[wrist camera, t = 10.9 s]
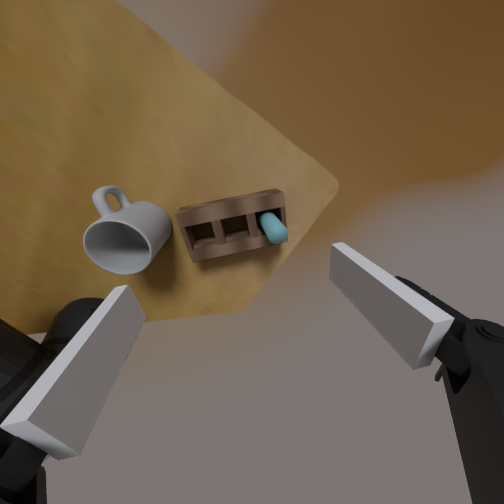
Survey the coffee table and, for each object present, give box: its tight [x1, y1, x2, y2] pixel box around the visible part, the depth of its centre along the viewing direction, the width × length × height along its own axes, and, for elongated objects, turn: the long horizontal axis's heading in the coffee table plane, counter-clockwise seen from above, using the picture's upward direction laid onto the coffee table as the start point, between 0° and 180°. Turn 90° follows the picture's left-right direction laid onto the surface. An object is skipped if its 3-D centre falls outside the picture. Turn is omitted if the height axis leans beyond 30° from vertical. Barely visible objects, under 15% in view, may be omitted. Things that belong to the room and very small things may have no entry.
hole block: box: [175, 188, 288, 262], centre depth 34 cm, size 18×9×5 cm, turn 100°
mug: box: [83, 186, 172, 275], centre depth 29 cm, size 12×8×11 cm
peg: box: [256, 209, 288, 244], centre depth 32 cm, size 3×3×11 cm
